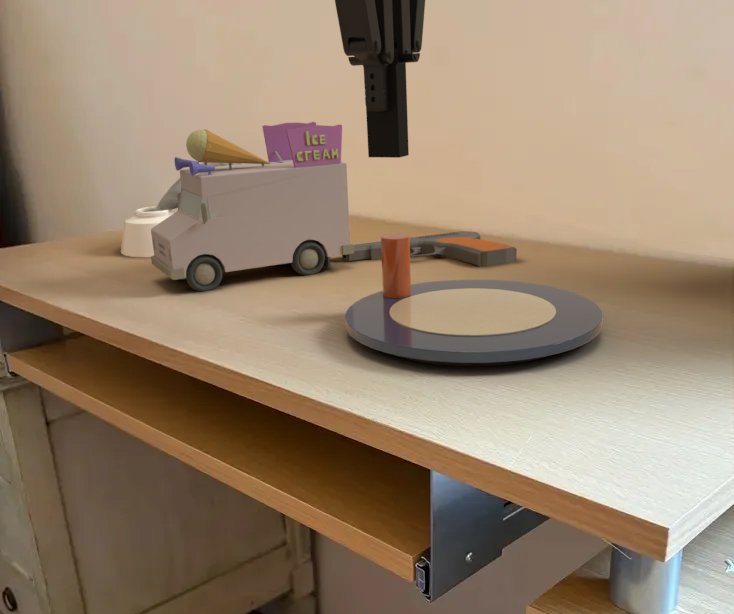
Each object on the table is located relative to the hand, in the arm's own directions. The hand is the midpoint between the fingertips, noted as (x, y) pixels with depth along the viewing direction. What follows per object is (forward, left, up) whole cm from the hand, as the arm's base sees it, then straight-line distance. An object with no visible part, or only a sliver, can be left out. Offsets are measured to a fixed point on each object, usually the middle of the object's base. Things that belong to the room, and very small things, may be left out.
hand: (388, 155), depth 64 cm
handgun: (+14, -19, -14) cm, 27 cm away
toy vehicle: (+24, -3, -14) cm, 28 cm away
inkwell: (+44, -8, -14) cm, 47 cm away
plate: (-6, -2, -13) cm, 14 cm away
